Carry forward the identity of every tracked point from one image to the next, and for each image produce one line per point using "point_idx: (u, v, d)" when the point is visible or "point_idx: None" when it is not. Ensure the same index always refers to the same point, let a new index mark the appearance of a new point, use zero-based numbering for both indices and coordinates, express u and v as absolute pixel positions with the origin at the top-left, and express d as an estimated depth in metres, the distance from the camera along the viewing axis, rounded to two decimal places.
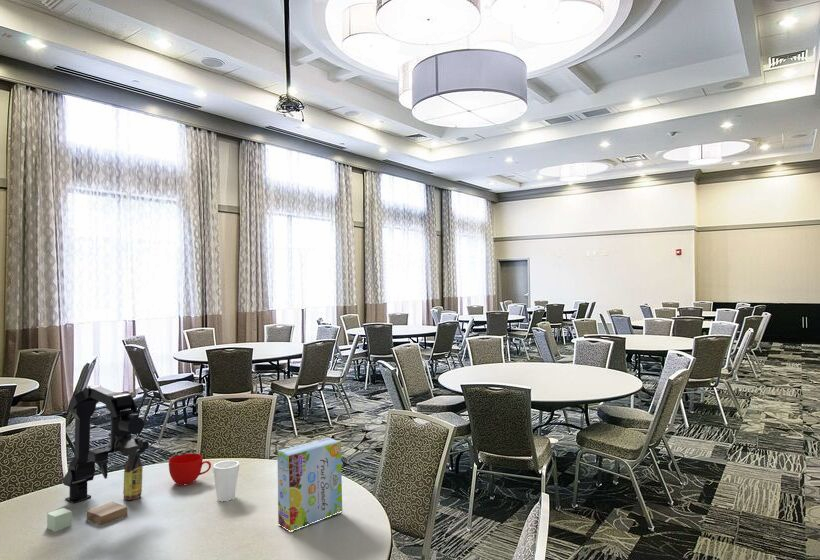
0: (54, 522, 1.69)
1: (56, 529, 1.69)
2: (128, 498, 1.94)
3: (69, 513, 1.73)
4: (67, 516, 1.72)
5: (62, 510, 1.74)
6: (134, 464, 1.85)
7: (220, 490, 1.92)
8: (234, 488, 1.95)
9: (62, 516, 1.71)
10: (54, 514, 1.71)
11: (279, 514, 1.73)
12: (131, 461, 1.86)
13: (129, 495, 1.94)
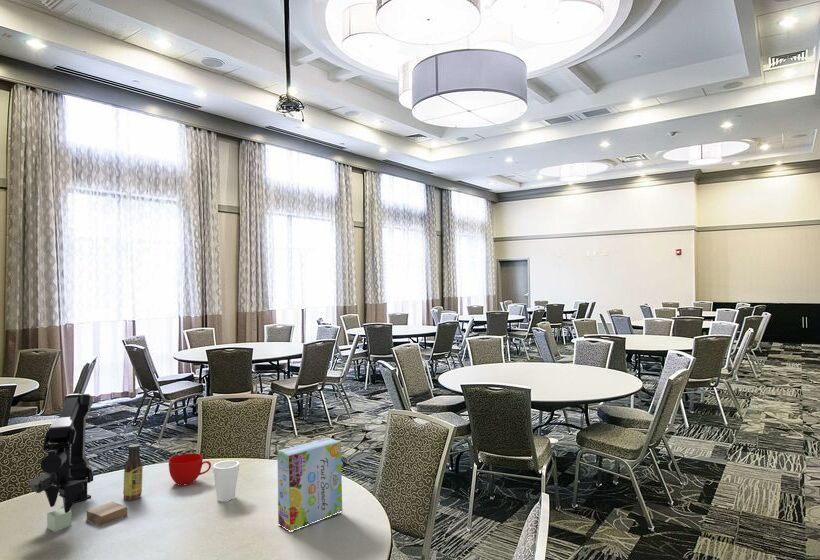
0: (54, 522, 1.69)
1: (56, 529, 1.69)
2: (128, 498, 1.94)
3: (69, 513, 1.73)
4: (67, 516, 1.72)
5: (62, 510, 1.74)
6: (64, 506, 1.69)
7: (219, 490, 1.92)
8: (234, 488, 1.95)
9: (62, 516, 1.71)
10: (54, 514, 1.71)
11: (279, 514, 1.73)
12: None
13: (129, 495, 1.94)
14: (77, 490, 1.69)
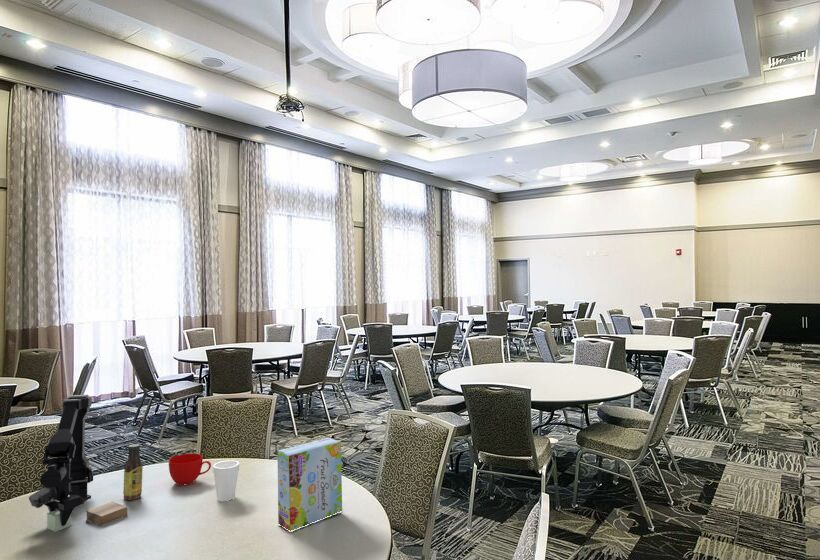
0: (54, 522, 1.69)
1: (56, 529, 1.69)
2: (128, 498, 1.94)
3: None
4: None
5: None
6: (61, 519, 1.70)
7: (219, 490, 1.92)
8: (234, 488, 1.95)
9: None
10: (54, 514, 1.71)
11: (279, 514, 1.73)
12: None
13: (129, 495, 1.94)
14: (77, 505, 1.69)
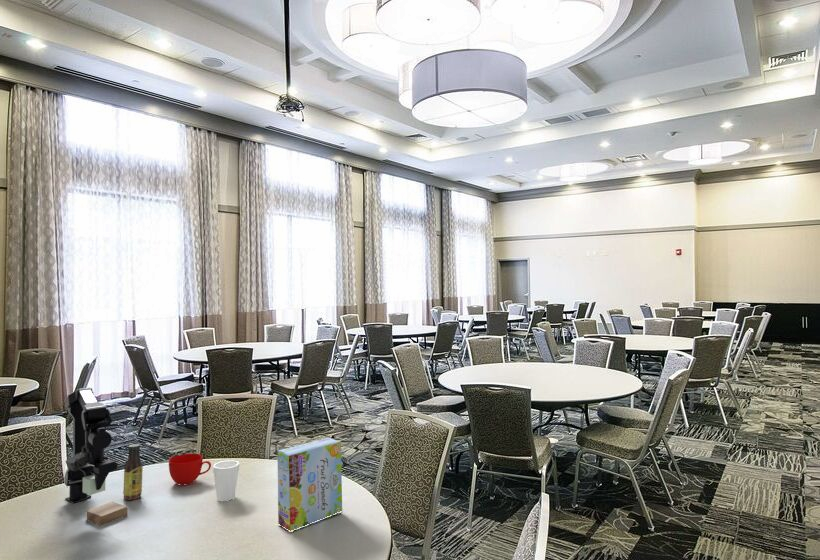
0: (89, 486, 1.74)
1: (91, 492, 1.74)
2: (128, 498, 1.94)
3: None
4: None
5: None
6: (96, 483, 1.75)
7: (219, 490, 1.92)
8: (234, 488, 1.95)
9: None
10: (89, 478, 1.76)
11: (279, 514, 1.73)
12: None
13: (129, 495, 1.94)
14: (111, 469, 1.73)
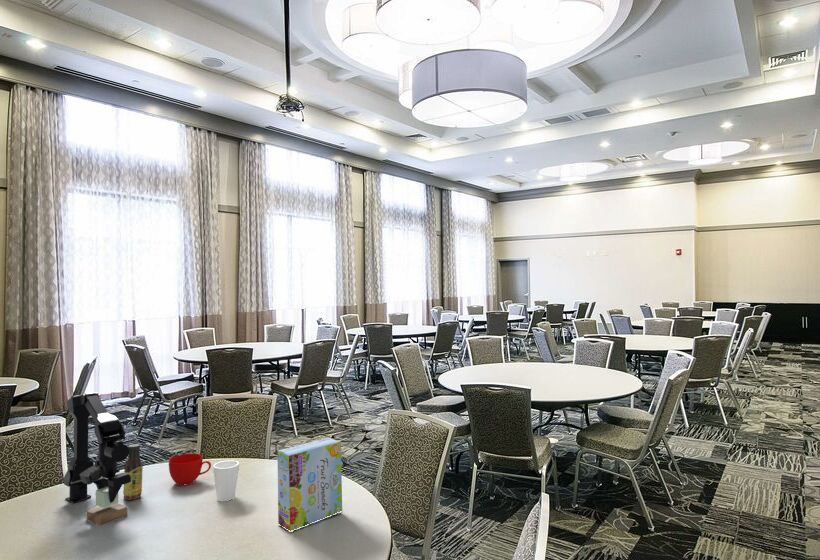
0: (103, 499, 1.76)
1: (105, 505, 1.76)
2: (128, 498, 1.94)
3: None
4: None
5: None
6: (109, 496, 1.77)
7: (219, 490, 1.92)
8: (234, 488, 1.95)
9: None
10: (103, 491, 1.78)
11: (279, 514, 1.73)
12: None
13: (129, 495, 1.94)
14: (125, 482, 1.76)
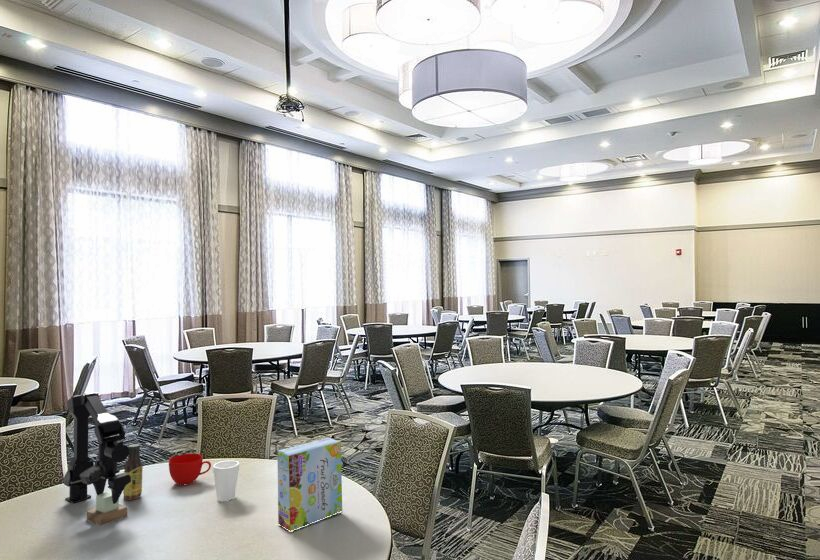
0: (103, 504, 1.76)
1: (105, 510, 1.76)
2: (128, 498, 1.94)
3: None
4: None
5: (110, 493, 1.81)
6: (112, 497, 1.76)
7: (219, 490, 1.92)
8: (234, 488, 1.95)
9: (110, 498, 1.78)
10: (103, 496, 1.78)
11: (279, 514, 1.73)
12: None
13: (129, 495, 1.94)
14: (125, 482, 1.76)
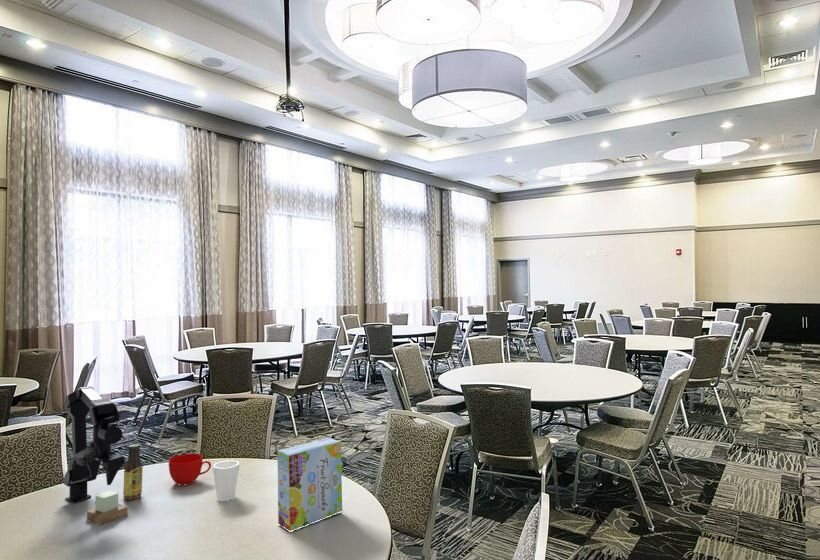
0: (103, 504, 1.76)
1: (105, 510, 1.76)
2: (128, 498, 1.94)
3: (116, 495, 1.80)
4: (114, 498, 1.79)
5: (109, 492, 1.81)
6: (107, 479, 1.78)
7: (219, 490, 1.92)
8: (234, 488, 1.95)
9: (110, 498, 1.78)
10: (102, 496, 1.78)
11: (279, 514, 1.73)
12: None
13: (129, 495, 1.94)
14: (119, 464, 1.77)
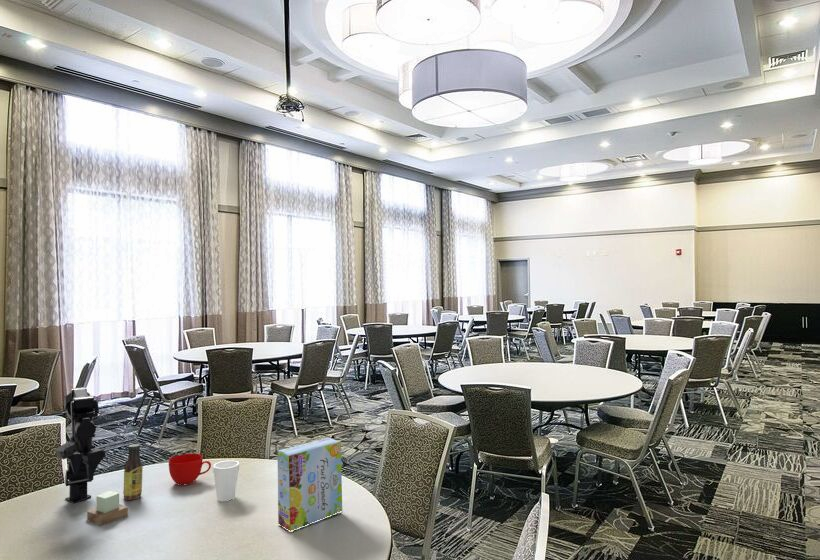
0: (104, 504, 1.76)
1: (106, 510, 1.76)
2: (128, 498, 1.94)
3: (117, 495, 1.80)
4: (115, 498, 1.79)
5: (110, 493, 1.81)
6: (87, 472, 1.81)
7: (219, 490, 1.92)
8: (234, 488, 1.95)
9: (111, 498, 1.78)
10: (103, 496, 1.78)
11: (279, 514, 1.73)
12: None
13: (129, 495, 1.94)
14: (99, 457, 1.80)
